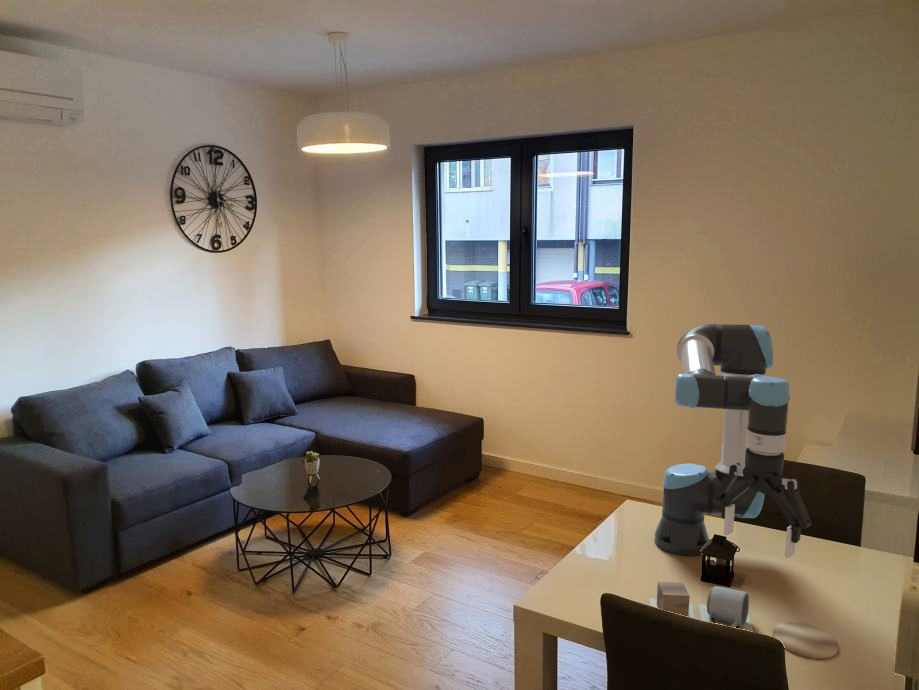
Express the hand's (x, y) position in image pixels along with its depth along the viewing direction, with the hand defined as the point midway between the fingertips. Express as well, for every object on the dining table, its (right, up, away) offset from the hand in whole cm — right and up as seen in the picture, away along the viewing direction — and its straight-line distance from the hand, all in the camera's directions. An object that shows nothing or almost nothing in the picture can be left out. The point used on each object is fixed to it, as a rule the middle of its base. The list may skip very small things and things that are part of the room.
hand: (757, 544), depth 146 cm
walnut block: (-14, -21, +15) cm, 29 cm away
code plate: (-3, -22, +11) cm, 24 cm away
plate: (-14, -21, +15) cm, 29 cm away
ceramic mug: (-3, -22, +11) cm, 24 cm away
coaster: (+12, -23, +4) cm, 26 cm away
